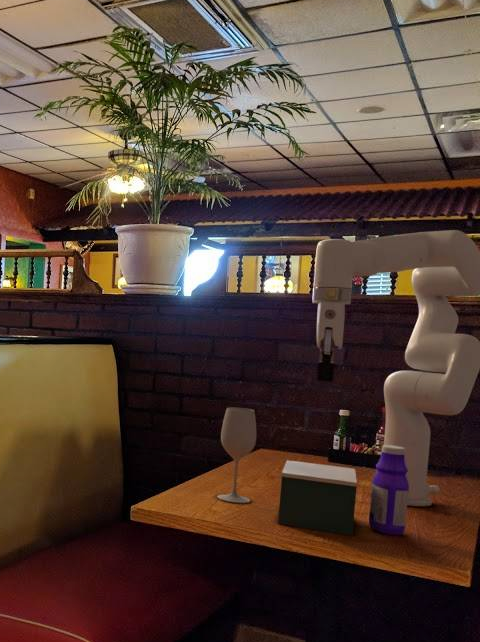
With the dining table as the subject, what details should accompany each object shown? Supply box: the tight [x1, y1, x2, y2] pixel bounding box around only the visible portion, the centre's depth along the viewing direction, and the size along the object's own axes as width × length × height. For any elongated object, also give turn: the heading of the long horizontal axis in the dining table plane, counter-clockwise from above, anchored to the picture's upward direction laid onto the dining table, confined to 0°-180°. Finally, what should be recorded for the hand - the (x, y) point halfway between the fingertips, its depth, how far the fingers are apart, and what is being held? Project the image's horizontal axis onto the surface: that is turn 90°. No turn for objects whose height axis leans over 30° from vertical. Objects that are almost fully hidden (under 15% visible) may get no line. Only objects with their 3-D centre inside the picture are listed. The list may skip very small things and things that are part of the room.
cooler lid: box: [281, 459, 358, 487], centre depth 157 cm, size 18×14×1 cm
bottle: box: [368, 444, 409, 536], centre depth 151 cm, size 7×6×17 cm
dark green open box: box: [277, 476, 358, 536], centre depth 157 cm, size 17×14×10 cm
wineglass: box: [216, 406, 257, 504], centre depth 172 cm, size 8×8×21 cm
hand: (324, 380), depth 163 cm, fingers closed
